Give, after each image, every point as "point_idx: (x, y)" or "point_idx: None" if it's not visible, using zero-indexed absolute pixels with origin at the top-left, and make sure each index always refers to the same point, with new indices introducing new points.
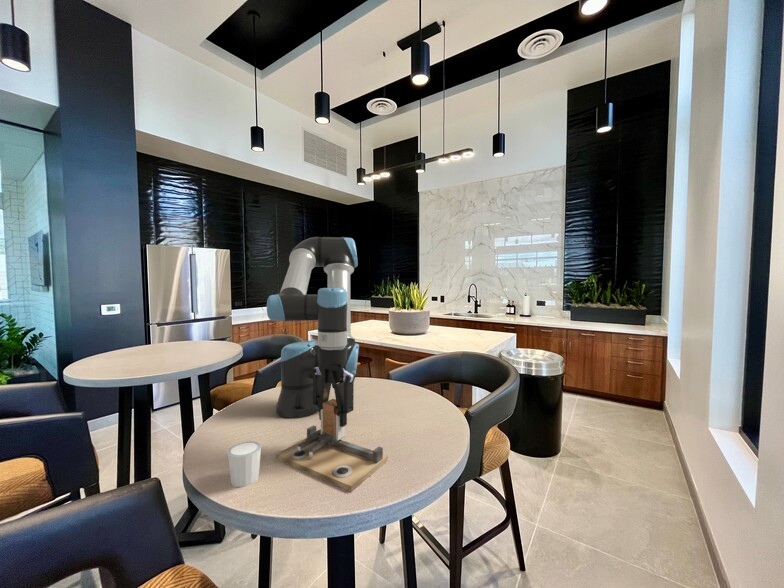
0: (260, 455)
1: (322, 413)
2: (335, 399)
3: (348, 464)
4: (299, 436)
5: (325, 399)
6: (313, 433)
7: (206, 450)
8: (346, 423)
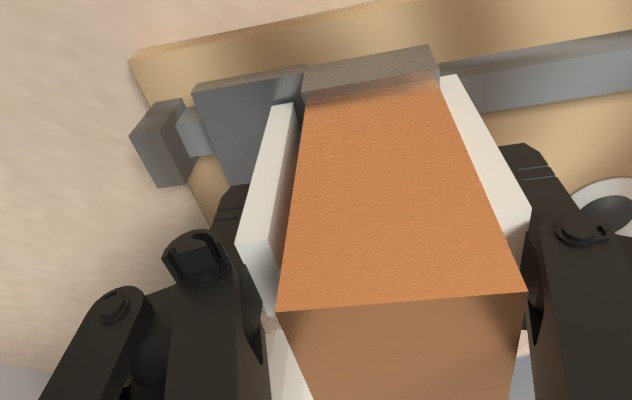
0: (304, 392)
1: None
2: (334, 308)
3: (598, 165)
4: (81, 124)
5: (259, 389)
6: (235, 180)
7: (44, 352)
8: (537, 155)
